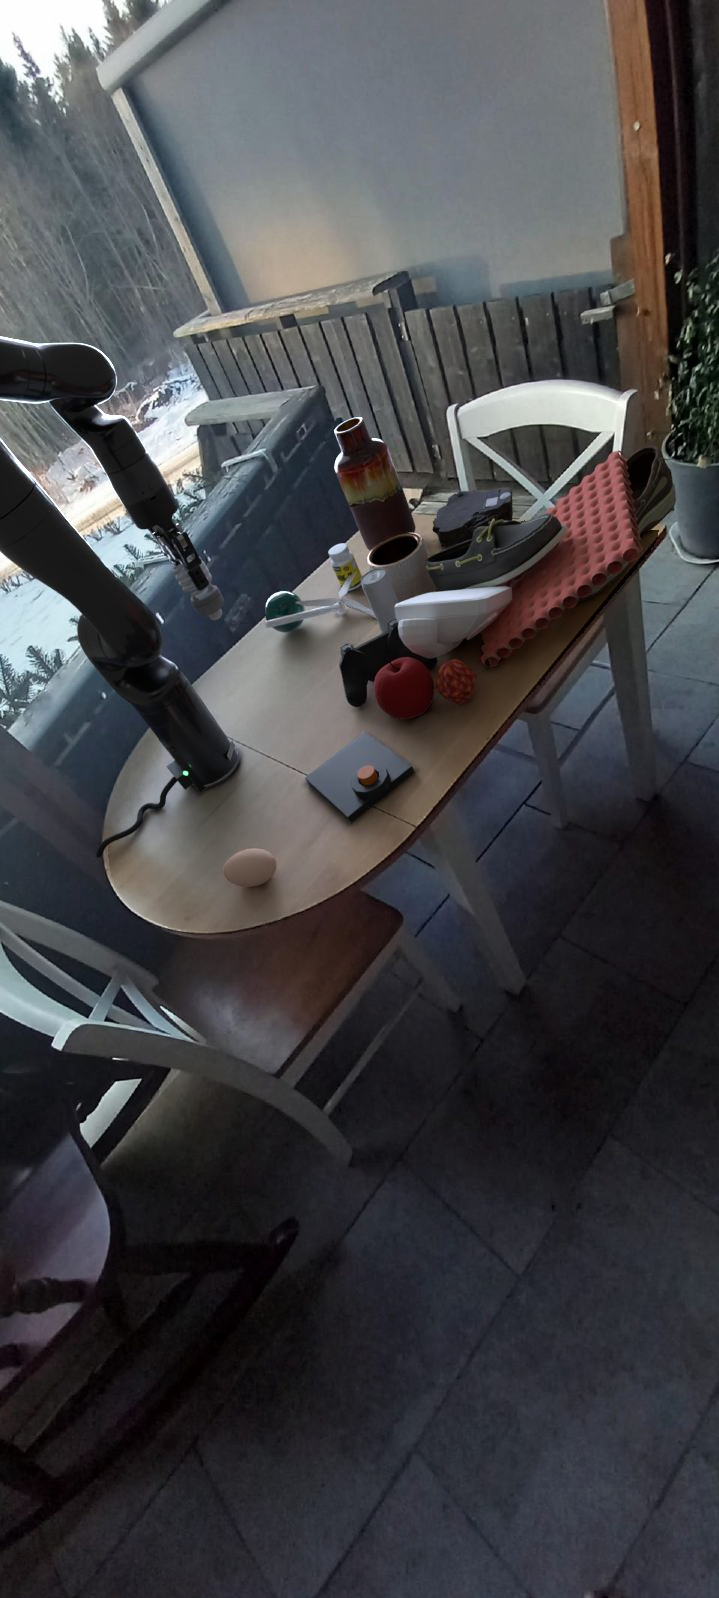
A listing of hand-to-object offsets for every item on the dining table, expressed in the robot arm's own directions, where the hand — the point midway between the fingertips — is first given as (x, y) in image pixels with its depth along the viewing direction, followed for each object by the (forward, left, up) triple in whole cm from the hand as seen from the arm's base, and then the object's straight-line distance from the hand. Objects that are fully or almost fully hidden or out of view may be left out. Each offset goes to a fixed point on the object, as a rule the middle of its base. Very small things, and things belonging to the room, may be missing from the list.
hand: (197, 582), depth 126 cm
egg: (-20, -46, -19) cm, 54 cm away
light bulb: (0, 0, -8) cm, 8 cm away
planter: (+33, -7, -22) cm, 40 cm away
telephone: (+28, -31, -12) cm, 43 cm away
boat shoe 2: (+58, -34, -22) cm, 71 cm away
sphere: (+14, +8, -22) cm, 27 cm away
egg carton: (+44, -37, -15) cm, 60 cm away
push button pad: (-2, -40, -22) cm, 46 cm away
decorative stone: (+18, -41, -23) cm, 50 cm away
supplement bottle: (+29, +9, -23) cm, 38 cm away
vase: (+42, +10, -22) cm, 49 cm away
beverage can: (+24, -15, -23) cm, 36 cm away
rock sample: (+54, -1, -23) cm, 59 cm away
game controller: (+15, -24, -22) cm, 36 cm away
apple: (+13, -35, -22) cm, 43 cm away
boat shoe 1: (+39, -29, -16) cm, 52 cm away
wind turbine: (+8, +4, -16) cm, 18 cm away
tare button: (-2, -44, -20) cm, 49 cm away
